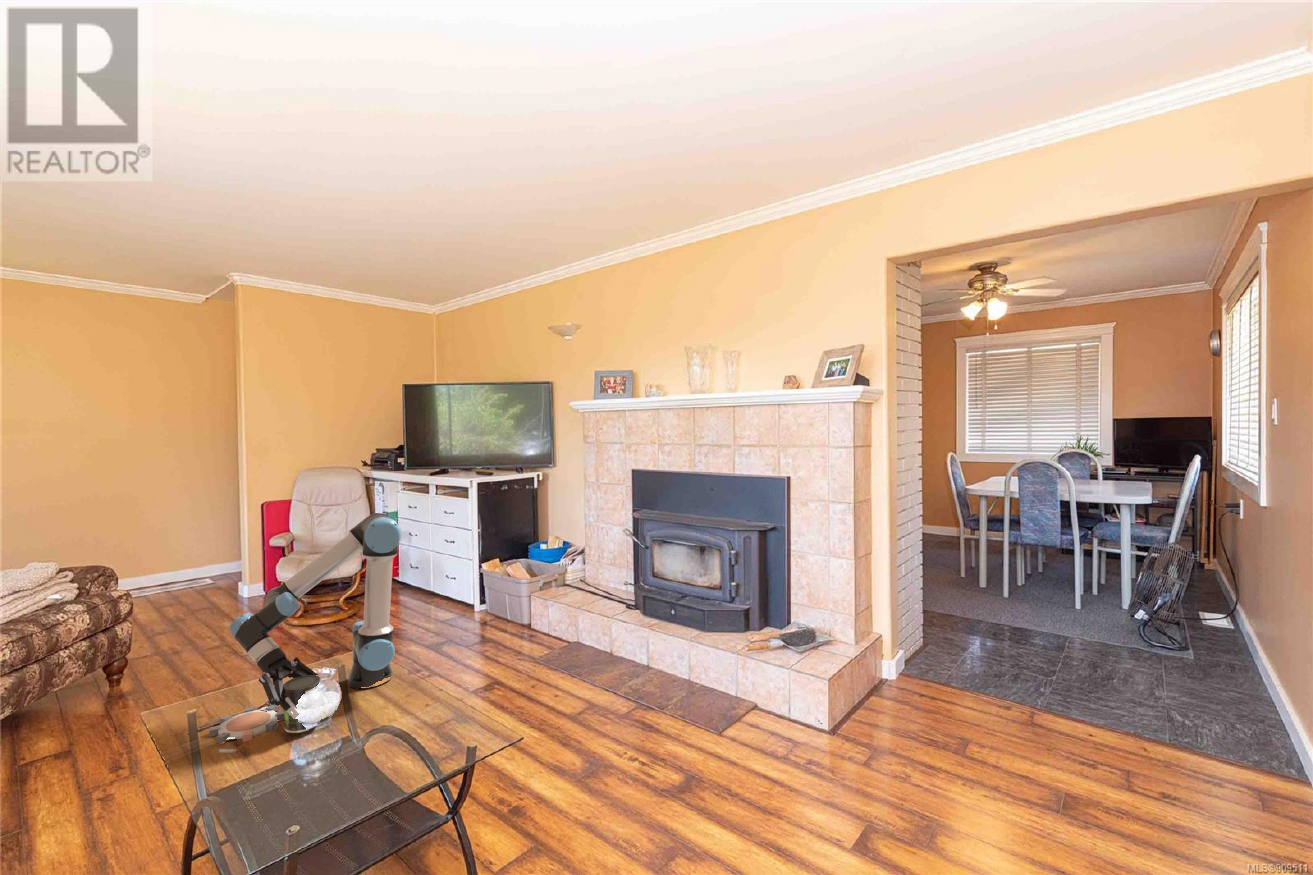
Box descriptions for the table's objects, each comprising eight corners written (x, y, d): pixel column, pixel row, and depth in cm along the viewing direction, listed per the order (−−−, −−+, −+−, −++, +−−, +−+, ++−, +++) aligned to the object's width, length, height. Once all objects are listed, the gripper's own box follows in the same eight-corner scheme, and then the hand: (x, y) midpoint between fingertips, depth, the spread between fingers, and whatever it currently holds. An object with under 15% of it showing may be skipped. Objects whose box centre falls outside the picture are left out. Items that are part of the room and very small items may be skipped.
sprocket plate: (212, 721, 196) (212, 715, 196) (285, 704, 207) (284, 699, 207) (206, 751, 179) (206, 744, 179) (286, 731, 190) (286, 725, 190)
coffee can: (287, 737, 184) (286, 692, 183) (281, 723, 192) (280, 681, 191) (324, 725, 191) (323, 682, 190) (317, 713, 199) (316, 671, 198)
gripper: (289, 648, 205) (330, 697, 202) (229, 678, 182) (274, 733, 180) (302, 634, 203) (343, 684, 201) (243, 662, 181) (288, 718, 179)
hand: (310, 707), depth 190 cm, fingers closed on coffee can, 10 cm apart
